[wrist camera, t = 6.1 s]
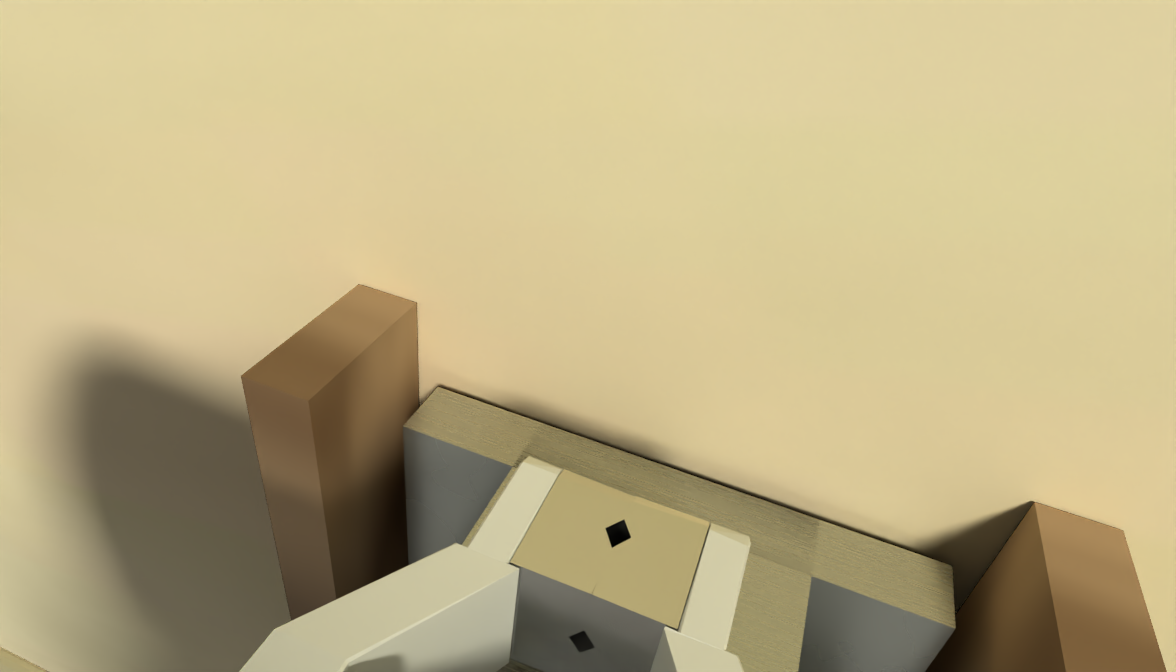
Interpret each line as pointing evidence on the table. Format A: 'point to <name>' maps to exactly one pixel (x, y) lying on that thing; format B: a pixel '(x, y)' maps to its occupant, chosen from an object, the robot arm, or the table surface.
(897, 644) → the keeper
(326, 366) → the guide channel
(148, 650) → the table surface
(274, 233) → the table surface
